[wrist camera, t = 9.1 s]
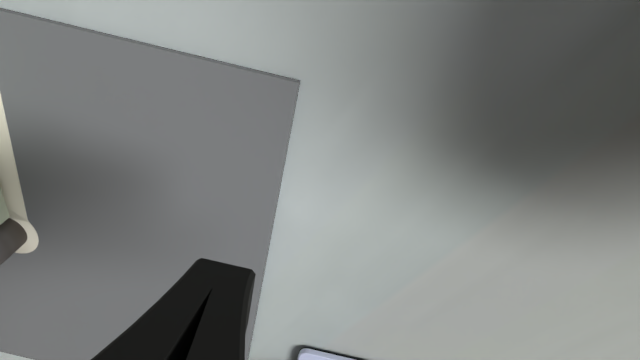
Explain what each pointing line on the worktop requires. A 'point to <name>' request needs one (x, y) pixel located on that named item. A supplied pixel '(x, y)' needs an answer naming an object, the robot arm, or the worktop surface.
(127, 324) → the card
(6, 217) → the sage fence panel
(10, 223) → the walnut fence section
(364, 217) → the worktop surface
